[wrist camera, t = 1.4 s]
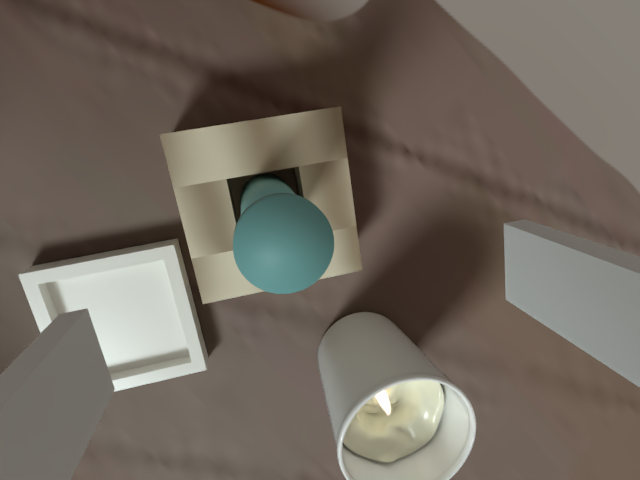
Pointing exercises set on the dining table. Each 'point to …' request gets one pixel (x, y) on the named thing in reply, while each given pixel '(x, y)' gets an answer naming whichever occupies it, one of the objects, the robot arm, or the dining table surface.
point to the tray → (127, 309)
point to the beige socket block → (241, 165)
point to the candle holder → (391, 404)
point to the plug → (280, 237)
